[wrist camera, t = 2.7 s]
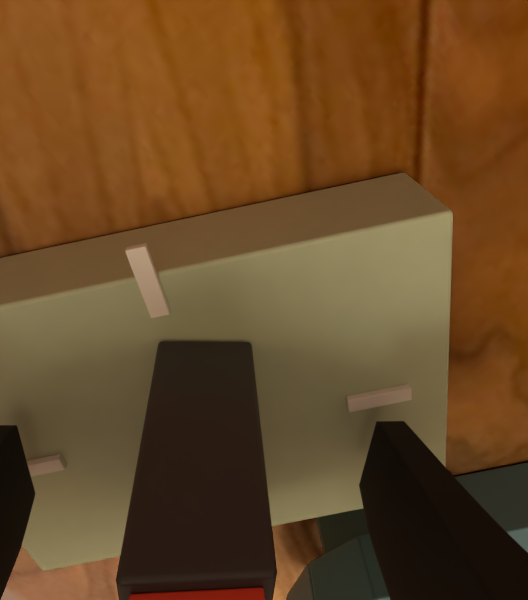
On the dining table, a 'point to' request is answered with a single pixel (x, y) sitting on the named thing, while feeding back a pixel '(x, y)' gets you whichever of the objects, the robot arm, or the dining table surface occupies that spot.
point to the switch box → (360, 553)
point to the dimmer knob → (200, 482)
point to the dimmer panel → (228, 328)
